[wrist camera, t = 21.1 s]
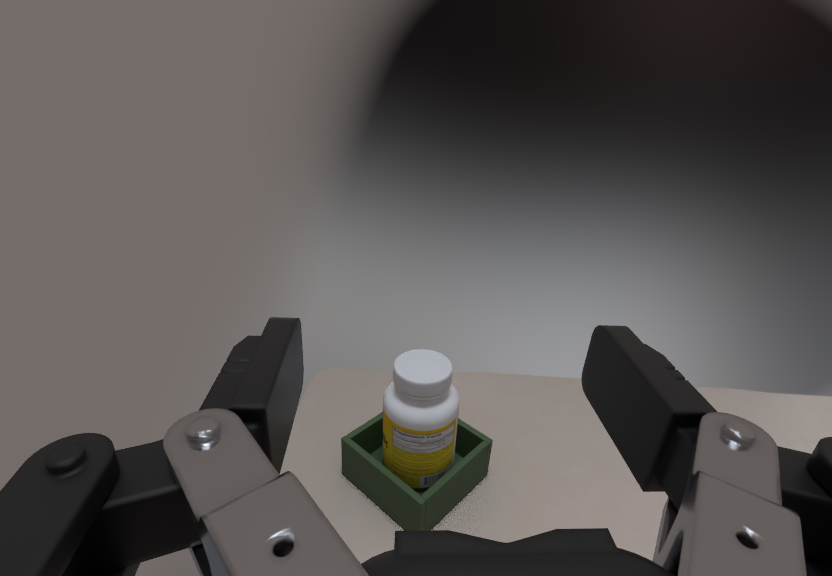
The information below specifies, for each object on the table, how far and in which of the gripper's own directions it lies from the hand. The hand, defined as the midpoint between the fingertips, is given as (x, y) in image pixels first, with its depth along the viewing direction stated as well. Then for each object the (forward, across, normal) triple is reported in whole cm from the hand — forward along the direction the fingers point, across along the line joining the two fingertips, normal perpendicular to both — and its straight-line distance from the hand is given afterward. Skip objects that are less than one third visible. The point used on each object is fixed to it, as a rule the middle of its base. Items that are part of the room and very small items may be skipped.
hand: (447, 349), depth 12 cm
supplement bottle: (+15, -1, +21) cm, 26 cm away
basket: (+15, -1, +22) cm, 26 cm away
